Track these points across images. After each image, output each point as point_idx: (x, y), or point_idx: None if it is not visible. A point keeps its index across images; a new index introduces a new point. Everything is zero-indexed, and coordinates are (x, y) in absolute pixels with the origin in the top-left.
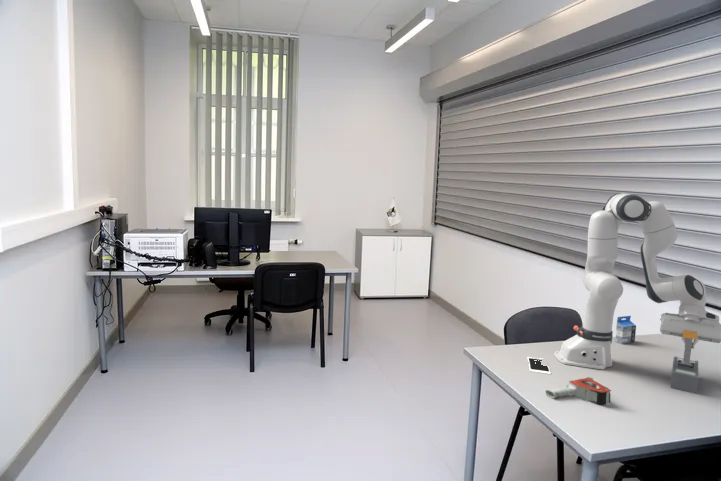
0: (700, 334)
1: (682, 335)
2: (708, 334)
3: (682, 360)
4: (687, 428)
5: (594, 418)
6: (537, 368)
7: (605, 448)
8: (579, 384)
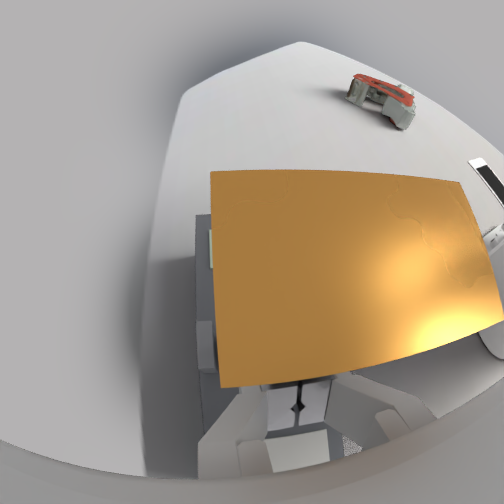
0: (156, 501)
1: (426, 412)
2: (20, 492)
3: (296, 455)
4: (223, 85)
5: (334, 69)
6: (487, 172)
7: (294, 43)
8: (397, 88)
